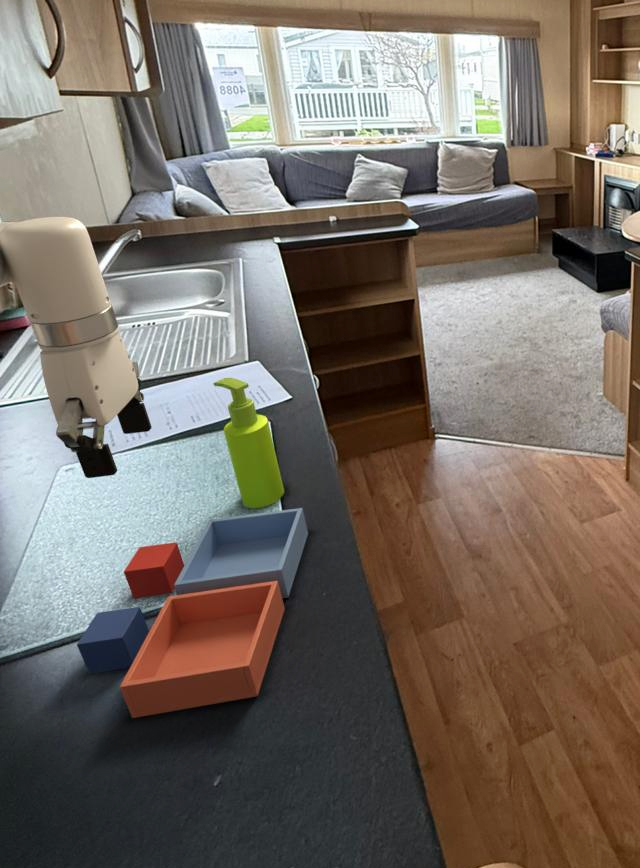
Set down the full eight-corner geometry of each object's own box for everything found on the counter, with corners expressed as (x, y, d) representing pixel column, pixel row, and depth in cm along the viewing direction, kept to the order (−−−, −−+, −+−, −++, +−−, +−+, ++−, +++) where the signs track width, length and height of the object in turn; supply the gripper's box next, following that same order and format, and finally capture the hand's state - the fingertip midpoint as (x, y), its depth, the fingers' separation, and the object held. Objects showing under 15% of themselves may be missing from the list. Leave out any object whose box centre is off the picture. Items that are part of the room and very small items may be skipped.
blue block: (88, 674, 72) (76, 644, 71) (108, 641, 77) (97, 612, 75) (133, 666, 73) (122, 637, 72) (150, 634, 77) (140, 606, 76)
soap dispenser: (262, 479, 106) (235, 369, 98) (292, 490, 103) (267, 378, 95) (229, 500, 101) (198, 386, 93) (260, 512, 98) (230, 396, 90)
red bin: (132, 718, 68) (119, 687, 66) (177, 625, 79) (167, 596, 77) (257, 696, 70) (248, 665, 68) (285, 608, 81) (277, 580, 79)
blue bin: (183, 613, 80) (173, 585, 79) (216, 545, 91) (208, 519, 90) (288, 597, 83) (281, 569, 81) (308, 533, 94) (302, 507, 92)
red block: (133, 599, 82) (123, 571, 81) (148, 573, 87) (139, 547, 85) (172, 593, 83) (163, 566, 82) (185, 568, 87) (177, 541, 86)
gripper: (78, 303, 82) (119, 420, 88) (-10, 362, 66) (48, 499, 72) (144, 298, 83) (180, 413, 90) (74, 354, 67) (123, 490, 74)
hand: (121, 452), depth 81 cm, fingers open, 9 cm apart
